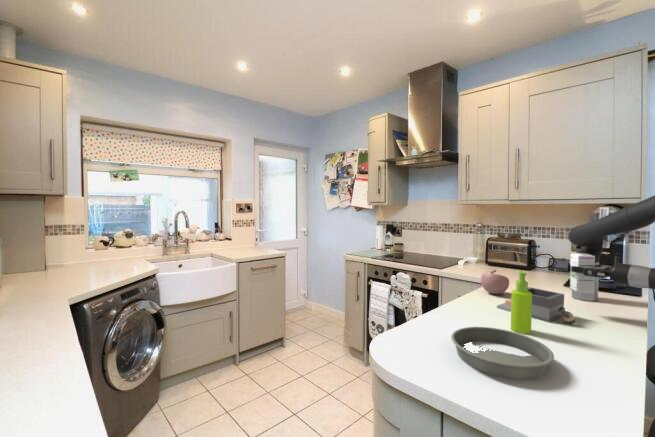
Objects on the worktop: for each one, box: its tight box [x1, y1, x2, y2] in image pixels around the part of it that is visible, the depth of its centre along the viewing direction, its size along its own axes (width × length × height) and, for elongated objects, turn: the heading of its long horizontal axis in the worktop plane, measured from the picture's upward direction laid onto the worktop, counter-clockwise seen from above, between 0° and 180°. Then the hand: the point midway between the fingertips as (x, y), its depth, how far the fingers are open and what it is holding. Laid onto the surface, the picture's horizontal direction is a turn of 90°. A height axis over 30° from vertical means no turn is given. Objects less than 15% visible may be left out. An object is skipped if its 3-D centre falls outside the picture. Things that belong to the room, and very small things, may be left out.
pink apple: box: [480, 269, 510, 295], centre depth 150 cm, size 12×12×12 cm
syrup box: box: [569, 252, 595, 294], centre depth 121 cm, size 6×6×14 cm
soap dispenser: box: [510, 270, 533, 335], centre depth 106 cm, size 6×7×20 cm
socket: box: [496, 286, 565, 323], centre depth 124 cm, size 12×19×8 cm, turn 32°
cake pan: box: [450, 326, 555, 380], centre depth 86 cm, size 25×25×4 cm
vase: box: [558, 307, 580, 328], centre depth 112 cm, size 5×5×6 cm
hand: (576, 267), depth 122 cm, fingers closed on syrup box, 8 cm apart
